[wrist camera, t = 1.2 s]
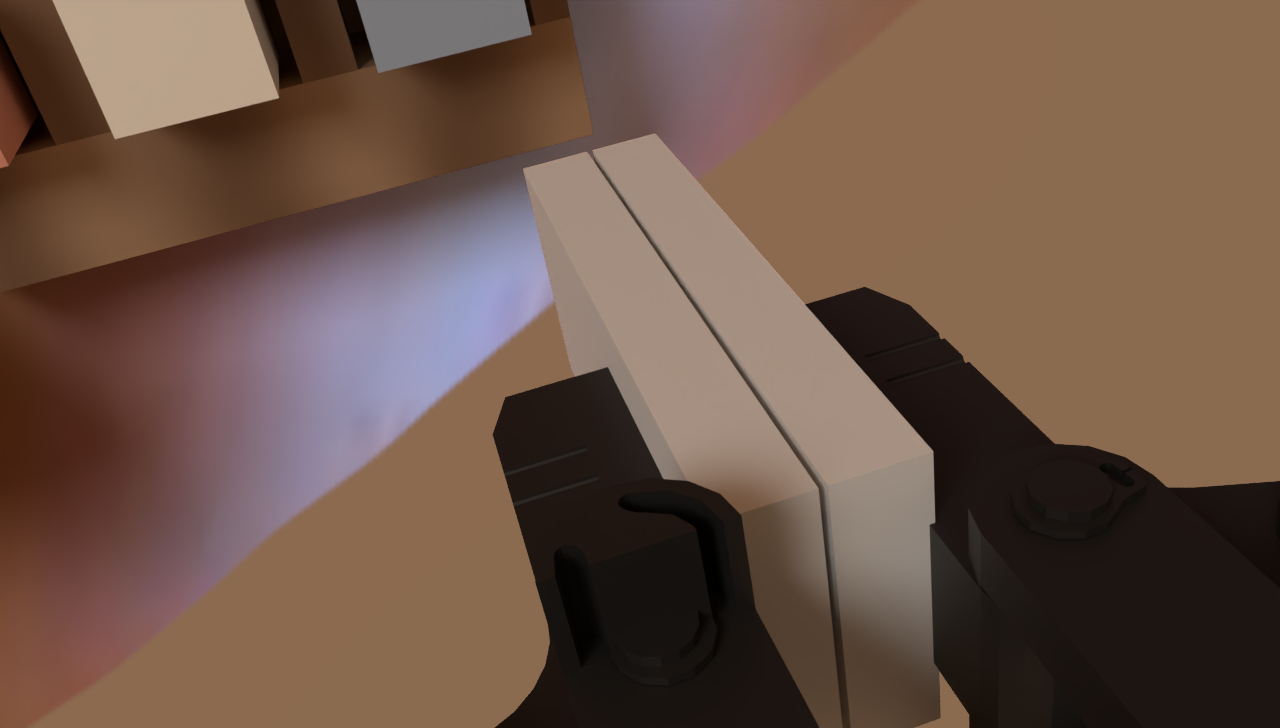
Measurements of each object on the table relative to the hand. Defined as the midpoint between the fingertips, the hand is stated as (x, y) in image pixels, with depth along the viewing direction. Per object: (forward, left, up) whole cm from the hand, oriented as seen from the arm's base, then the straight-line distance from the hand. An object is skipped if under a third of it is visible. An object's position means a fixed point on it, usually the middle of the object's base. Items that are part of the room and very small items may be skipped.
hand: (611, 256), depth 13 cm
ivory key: (-7, 0, -21) cm, 22 cm away
